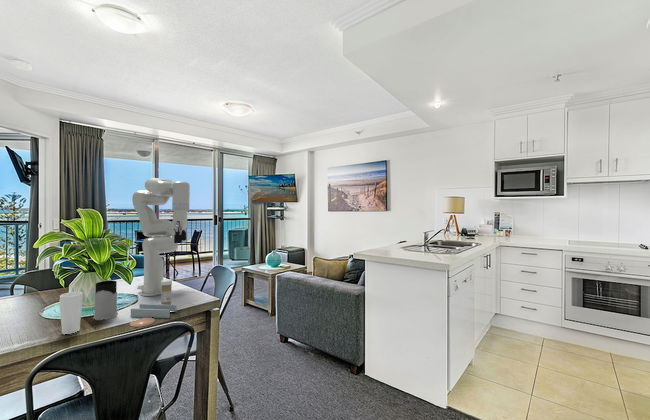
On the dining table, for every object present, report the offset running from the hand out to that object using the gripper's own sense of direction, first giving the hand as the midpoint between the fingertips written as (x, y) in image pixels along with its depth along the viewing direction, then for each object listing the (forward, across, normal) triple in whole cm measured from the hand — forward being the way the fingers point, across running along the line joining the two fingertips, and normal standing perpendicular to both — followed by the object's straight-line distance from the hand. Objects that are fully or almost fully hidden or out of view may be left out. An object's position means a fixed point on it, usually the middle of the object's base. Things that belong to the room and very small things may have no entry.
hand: (180, 241), depth 142 cm
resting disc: (+32, +17, -11) cm, 38 cm away
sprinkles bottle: (+32, 0, -6) cm, 33 cm away
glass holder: (+32, +4, -29) cm, 44 cm away
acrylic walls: (+32, +8, -9) cm, 34 cm away
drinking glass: (+32, +22, -34) cm, 52 cm away
